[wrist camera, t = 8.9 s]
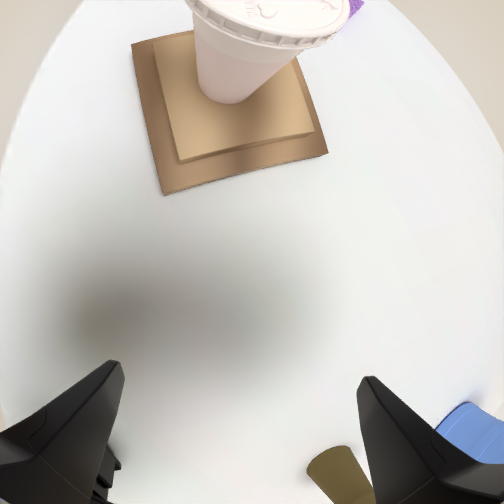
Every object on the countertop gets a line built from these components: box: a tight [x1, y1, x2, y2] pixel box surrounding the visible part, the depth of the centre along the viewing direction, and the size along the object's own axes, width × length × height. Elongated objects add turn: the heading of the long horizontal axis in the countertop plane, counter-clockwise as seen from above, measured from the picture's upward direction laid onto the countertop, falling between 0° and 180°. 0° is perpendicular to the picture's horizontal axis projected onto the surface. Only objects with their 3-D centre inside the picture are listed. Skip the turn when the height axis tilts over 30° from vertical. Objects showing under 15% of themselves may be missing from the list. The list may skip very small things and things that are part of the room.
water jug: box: [436, 403, 504, 464], centre depth 20 cm, size 16×16×28 cm
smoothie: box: [185, 0, 350, 104], centre depth 9 cm, size 6×6×14 cm
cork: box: [307, 446, 376, 504], centre depth 21 cm, size 6×6×11 cm
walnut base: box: [131, 30, 328, 196], centre depth 17 cm, size 12×12×3 cm
